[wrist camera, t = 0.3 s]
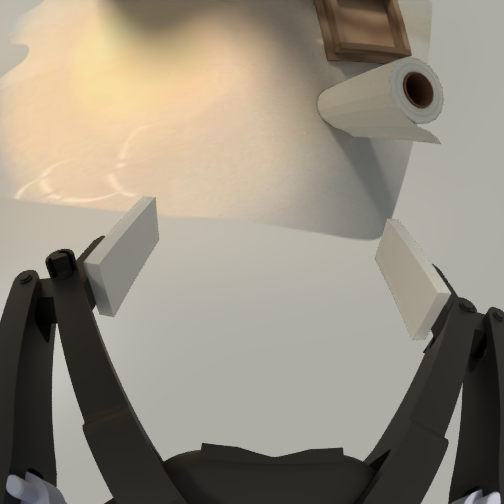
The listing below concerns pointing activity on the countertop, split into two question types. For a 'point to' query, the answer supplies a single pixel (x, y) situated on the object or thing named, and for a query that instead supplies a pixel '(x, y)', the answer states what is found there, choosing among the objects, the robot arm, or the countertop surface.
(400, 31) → the wooden tray
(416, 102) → the paper towel roll
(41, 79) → the countertop surface
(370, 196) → the countertop surface
